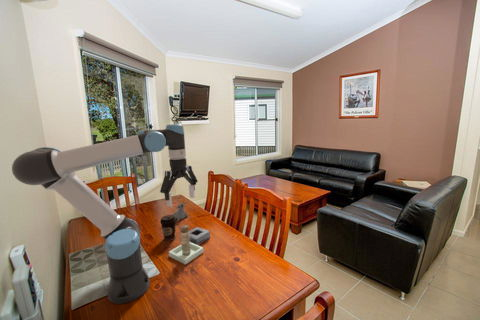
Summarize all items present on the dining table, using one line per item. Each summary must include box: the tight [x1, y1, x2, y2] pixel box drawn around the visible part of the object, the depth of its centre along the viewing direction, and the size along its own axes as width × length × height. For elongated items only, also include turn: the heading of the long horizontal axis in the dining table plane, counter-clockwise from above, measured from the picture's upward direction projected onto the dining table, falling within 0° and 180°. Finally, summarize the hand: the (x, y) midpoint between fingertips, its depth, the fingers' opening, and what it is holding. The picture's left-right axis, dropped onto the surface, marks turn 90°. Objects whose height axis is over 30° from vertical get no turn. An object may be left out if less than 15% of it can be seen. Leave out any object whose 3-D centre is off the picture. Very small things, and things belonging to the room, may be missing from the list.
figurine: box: [172, 202, 189, 222], centre depth 157 cm, size 8×10×11 cm
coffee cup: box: [159, 214, 177, 242], centre depth 129 cm, size 9×8×13 cm
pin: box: [179, 224, 191, 255], centre depth 113 cm, size 4×4×14 cm
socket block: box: [189, 226, 211, 246], centre depth 128 cm, size 10×10×4 cm
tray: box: [168, 242, 205, 266], centre depth 114 cm, size 12×12×2 cm
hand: (181, 201), depth 109 cm, fingers open, 13 cm apart
